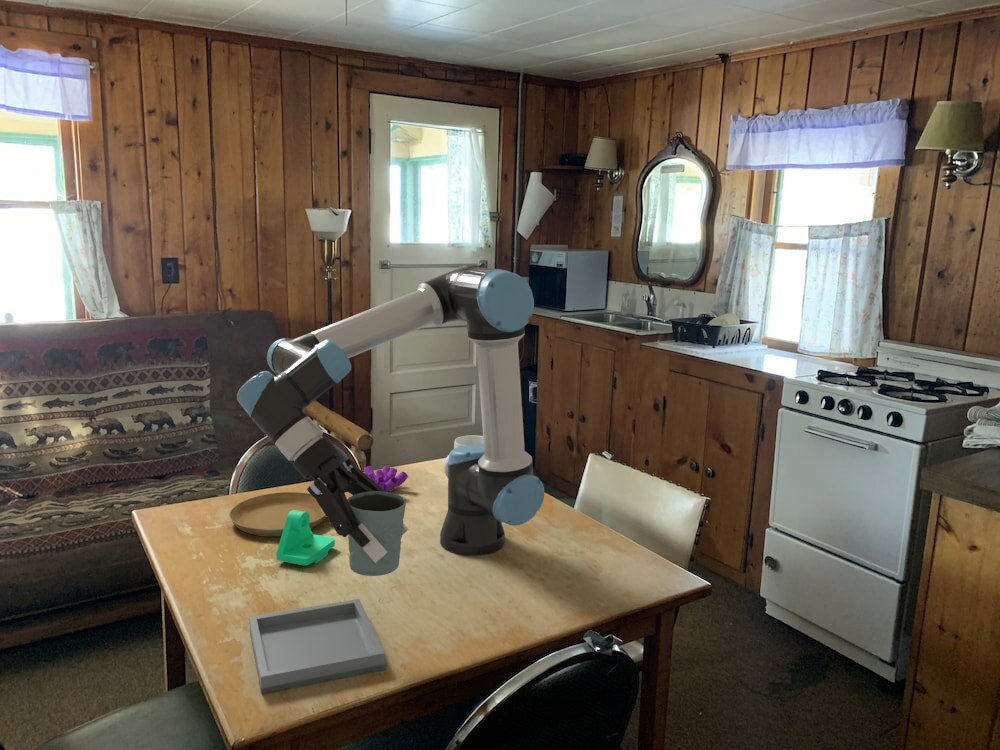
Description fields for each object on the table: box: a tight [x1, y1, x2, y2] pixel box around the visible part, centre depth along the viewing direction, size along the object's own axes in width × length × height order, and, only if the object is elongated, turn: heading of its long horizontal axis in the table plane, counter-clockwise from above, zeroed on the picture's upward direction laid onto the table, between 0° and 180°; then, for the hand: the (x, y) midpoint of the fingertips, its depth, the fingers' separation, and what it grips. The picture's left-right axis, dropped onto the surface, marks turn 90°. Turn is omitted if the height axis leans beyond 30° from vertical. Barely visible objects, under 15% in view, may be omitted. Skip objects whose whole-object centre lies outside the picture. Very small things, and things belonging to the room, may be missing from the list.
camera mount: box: [275, 510, 336, 566], centre depth 173 cm, size 12×8×10 cm, turn 161°
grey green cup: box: [347, 491, 407, 577], centre depth 136 cm, size 10×10×12 cm
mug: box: [443, 434, 484, 479], centre depth 220 cm, size 15×11×13 cm
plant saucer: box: [228, 491, 327, 538], centre depth 193 cm, size 24×24×3 cm
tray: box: [248, 598, 386, 695], centre depth 136 cm, size 20×20×3 cm
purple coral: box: [363, 465, 409, 492], centre depth 214 cm, size 11×15×10 cm
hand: (392, 545), depth 136 cm, fingers closed on grey green cup, 10 cm apart
